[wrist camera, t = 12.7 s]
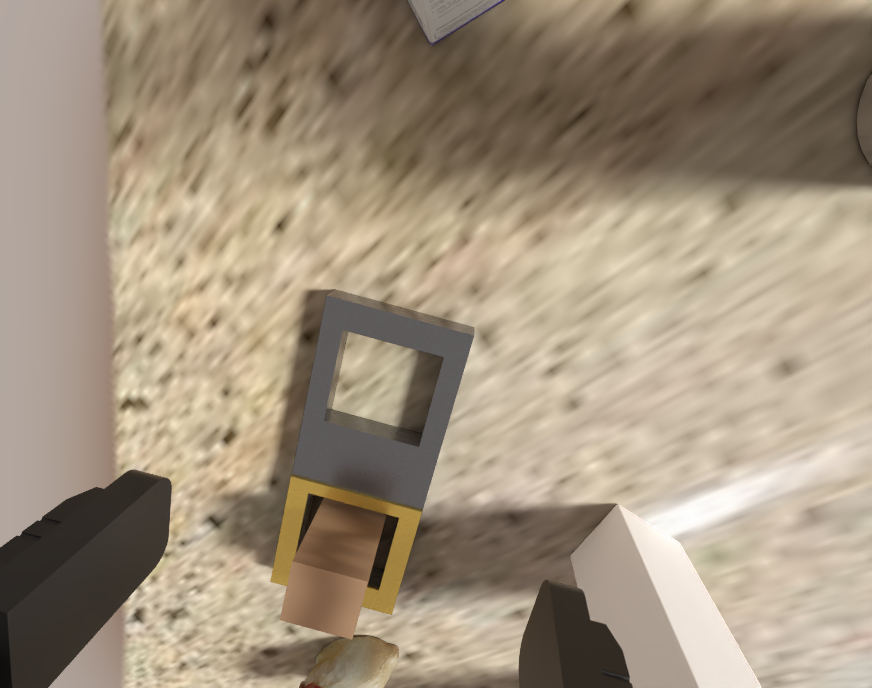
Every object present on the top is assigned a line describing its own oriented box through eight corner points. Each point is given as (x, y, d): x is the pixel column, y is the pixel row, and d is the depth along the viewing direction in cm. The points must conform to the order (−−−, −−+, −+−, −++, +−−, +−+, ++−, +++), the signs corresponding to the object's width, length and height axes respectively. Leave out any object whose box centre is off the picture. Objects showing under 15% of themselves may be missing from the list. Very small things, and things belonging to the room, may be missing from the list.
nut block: (388, 506, 40) (367, 581, 32) (375, 556, 41) (352, 639, 34) (327, 489, 40) (292, 561, 32) (316, 540, 41) (280, 620, 34)
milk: (629, 591, 40) (791, 1030, 20) (567, 554, 40) (666, 965, 19) (681, 540, 39) (920, 962, 18) (617, 500, 38) (785, 889, 17)
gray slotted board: (474, 327, 35) (474, 336, 33) (395, 593, 42) (391, 614, 40) (335, 289, 35) (325, 296, 33) (280, 562, 42) (270, 581, 40)
